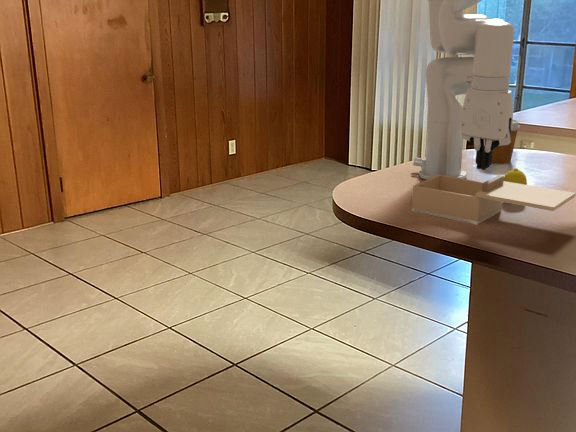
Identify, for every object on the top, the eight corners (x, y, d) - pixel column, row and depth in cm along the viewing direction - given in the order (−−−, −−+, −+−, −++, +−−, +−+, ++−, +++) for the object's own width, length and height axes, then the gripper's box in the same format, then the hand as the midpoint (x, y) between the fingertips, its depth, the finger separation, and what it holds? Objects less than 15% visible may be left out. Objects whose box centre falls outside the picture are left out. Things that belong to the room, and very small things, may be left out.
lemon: (525, 198, 158) (528, 166, 155) (525, 205, 153) (528, 172, 151) (501, 196, 160) (503, 164, 157) (500, 203, 155) (503, 170, 152)
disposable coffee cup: (514, 158, 197) (518, 118, 193) (517, 166, 188) (521, 124, 184) (481, 157, 199) (484, 117, 195) (483, 165, 190) (486, 123, 186)
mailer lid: (475, 196, 139) (476, 184, 138) (500, 184, 148) (501, 172, 147) (553, 211, 129) (554, 198, 128) (575, 196, 138) (576, 184, 137)
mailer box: (411, 210, 151) (412, 185, 149) (437, 198, 159) (439, 174, 158) (477, 224, 141) (479, 198, 139) (500, 211, 149) (503, 185, 147)
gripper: (449, 82, 139) (443, 166, 146) (517, 89, 130) (508, 178, 136) (465, 78, 145) (459, 158, 151) (532, 84, 135) (523, 170, 142)
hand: (483, 167), depth 144 cm, fingers closed
